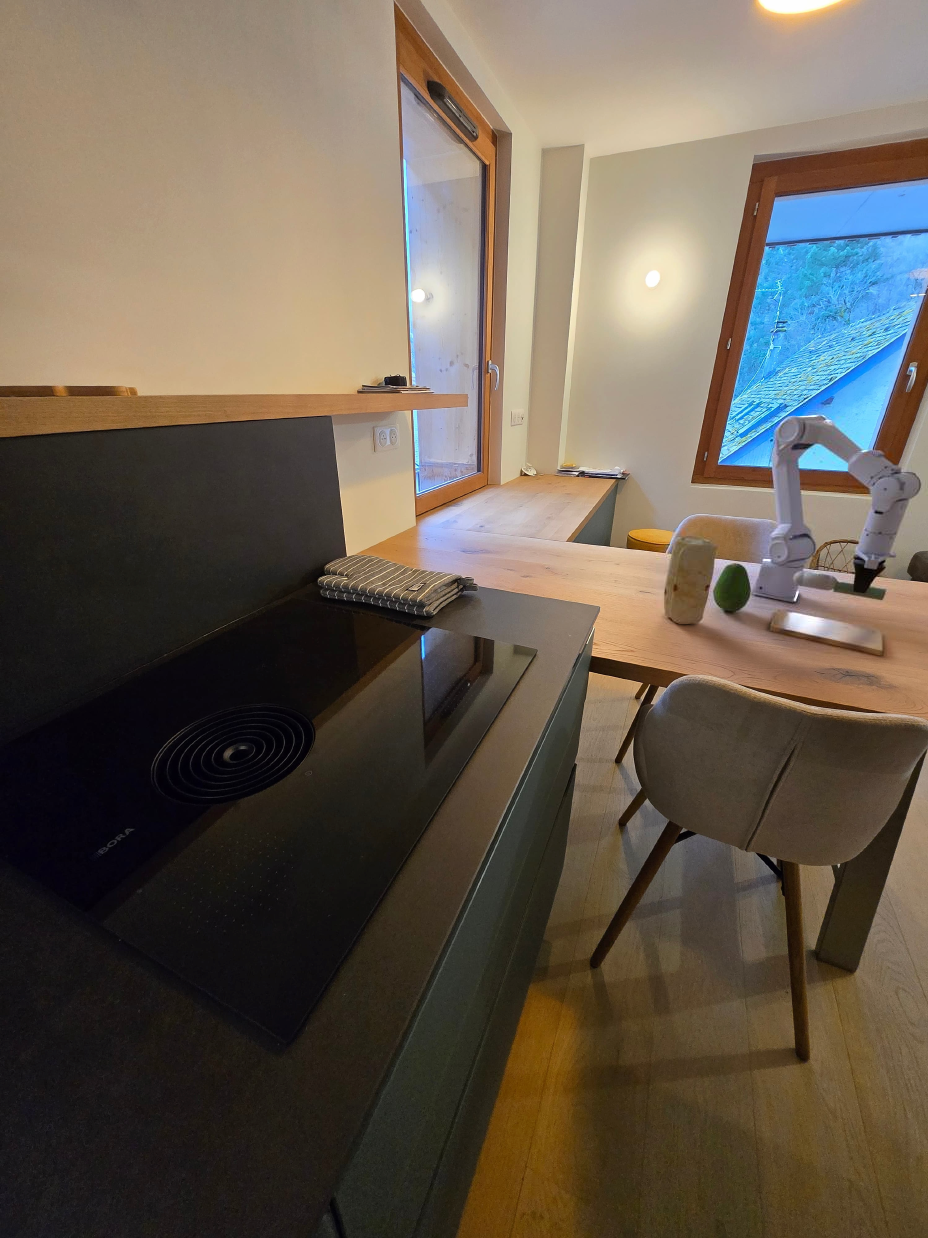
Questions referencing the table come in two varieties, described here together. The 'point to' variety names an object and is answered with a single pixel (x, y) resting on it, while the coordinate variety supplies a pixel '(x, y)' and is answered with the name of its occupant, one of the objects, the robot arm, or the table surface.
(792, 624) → the board
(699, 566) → the food model
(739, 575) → the avocado
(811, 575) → the green-handled cylinder
